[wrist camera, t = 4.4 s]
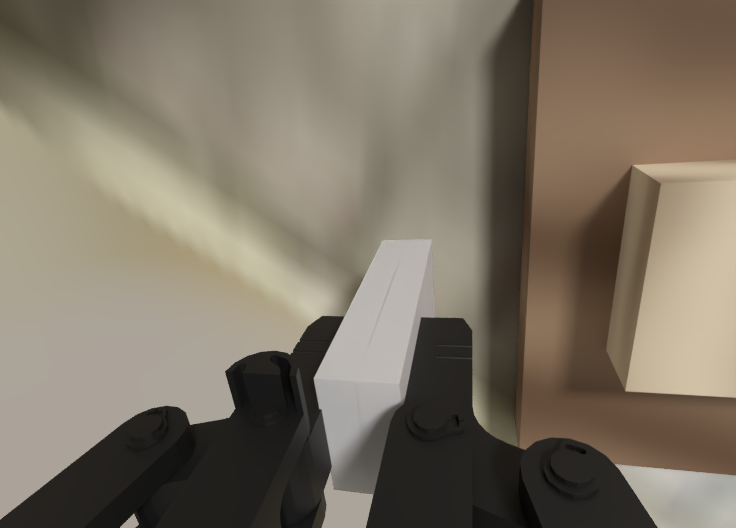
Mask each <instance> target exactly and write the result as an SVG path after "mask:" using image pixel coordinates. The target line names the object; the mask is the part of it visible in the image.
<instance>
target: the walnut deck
mask: <svg viewBox="0 0 736 528" xmlns="http://www.w3.org/2000/svg"><path fill="white" fill-rule="evenodd" d="M719 160H736V0H533V11H532V34H531V57H530V79H529V102H528V125H527V147H526V170H525V193H524V215H523V238H522V261H521V283H520V306H519V329H518V352H517V374H516V397H515V425H516V433H517V441H518V448H521V449H524V450H526V449H527V448H528V447H529V446H531V445H532V444H533V443H534V442H536V441H539V440H543V439H547V438H551V437H553V438H570V439H573V440H576V441H579V442H582V443H585V444H588V445H590V446H592V447H593V448H595V449H596V450H598V451H600V452H601V453H603V454H604V455H606V456H607V457H608V458H609V459H610V460H611V461H612V463H613V464H621V465H632V466H642V467H653V468H664V469H674V470H685V471H696V472H706V473H717V474H728V475H736V398H733V397H716V396H698V395H681V394H664V393H646V392H629V391H625V389H624V387H623V385H622V383H621V381H620V379H619V377H618V374H617V372H616V370H615V368H614V366H613V364H612V362H611V359H610V357H609V355H608V353H607V351H606V346H607V339H608V332H609V325H610V318H611V311H612V304H613V297H614V290H615V283H616V276H617V269H618V262H619V255H620V248H621V241H622V234H623V227H624V220H625V213H626V206H627V199H628V192H629V185H630V178H631V171H632V165H644V164H663V163H682V162H701V161H719Z"/></svg>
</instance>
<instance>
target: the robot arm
mask: <svg viewBox="0 0 736 528" xmlns="http://www.w3.org/2000/svg"><path fill="white" fill-rule="evenodd" d="M225 373H226V377H227V380H228V384H229V387H230V391H231V394H232V398H233V401H234V404H235V408H236V409H235V410H234V412H233V413H232V415H231V416H230V418H226V419H222V420H217V421H211V422H205V423H200V424H193V425H190V424H189V421H188V418H187V415H186V413H185V412H184V411H183V410H181V409H180V408H178V407H171V406H164V407H157V408H152V409H149V410H147V411H144V412H142V413H140V414H137V415H135V416H134V417H132V418H131V419H130V420H128V421H126V422H125V423H123V424H122V425H120V426H119V427H118V428H117V429H115V430H114V431H113V432H112V433H111V434H109V435H108V436H107V437H105V438H104V439H103V440H101V441H100V442H99V443H98V444H96V445H95V446H94V447H92V448H91V449H90V450H89V451H88V452H86V453H85V454H84V455H82V456H81V457H80V458H79V459H77V460H76V461H75V462H73V463H72V464H71V465H70V466H68V467H67V468H66V469H64V470H63V471H62V472H61V473H59V474H58V475H57V476H55V477H54V478H53V479H52V480H50V481H49V482H48V483H47V484H45V485H44V486H43V487H42V488H40V489H39V490H38V491H36V492H35V493H34V494H33V495H31V496H30V497H29V498H27V499H26V500H25V501H24V502H22V503H21V504H20V505H19V506H17V507H16V508H15V509H13V510H12V511H11V512H10V513H8V514H7V515H6V516H4V517H3V518H2V519H1V520H0V528H120V526H122V524H123V523H124V522H126V521H127V520H128V518H130V517H131V516H132V515H133V514H135V516H136V518H137V521H138V523H139V525H138V526H137V527H136V528H321V527H322V524H323V521H324V518H325V511H326V501H325V496H324V488H325V485H326V482H327V479H328V477H329V473H330V471H331V475H332V480H333V486H334V489H335V490H343V491H351V492H359V493H367V494H374V495H373V500H372V504H371V509H370V513H369V517H368V521H367V526H366V528H657V526H656V525H655V523H654V521H653V520H652V518H651V517H650V515H649V514H648V512H647V511H646V509H645V508H644V506H643V505H642V503H641V502H640V500H639V499H638V497H637V496H636V494H635V493H634V491H633V490H632V488H631V487H630V485H629V484H628V482H627V481H626V479H625V478H624V476H623V475H622V473H621V472H620V470H619V469H618V468H617V467H616V466H615V465H614V464H613V463H612V461H611V460H610V459H609V458H608V457H607V456H606V455H604V454H603V453H601V452H600V451H598V450H596V449H595V448H593V447H592V446H590V445H588V444H585V443H582V442H579V441H576V440H573V439H570V438H553V437H551V438H547V439H543V440H539V441H536V442H534V443H533V444H532V445H531V446H529V447H528V448H527V449H526V450H524V449H521V448H518V447H516V446H513V445H510V444H507V443H505V442H503V441H501V440H499V439H496V438H495V437H493V436H492V435H491V434H489V433H488V432H486V431H485V430H484V429H483V428H482V426H481V425H480V424H479V423H478V421H477V420H476V418H475V416H474V412H473V407H472V330H471V328H470V327H469V326H468V324H467V323H466V322H465V320H464V319H463V318H435V302H434V279H433V255H432V239H431V240H383V241H382V243H381V245H380V247H379V249H378V251H377V253H376V255H375V257H374V259H373V261H372V263H371V265H370V267H369V269H368V271H367V273H366V275H365V277H364V279H363V281H362V283H361V285H360V287H359V289H358V291H357V293H356V295H355V297H354V299H353V301H352V303H351V305H350V307H349V309H348V311H347V313H346V315H345V317H338V316H322V317H320V318H319V319H317V320H316V321H315V322H313V323H312V324H311V325H309V326H308V327H307V329H306V331H305V332H304V334H303V335H302V337H301V338H300V342H298V343H297V345H296V347H295V348H294V350H293V353H291V355H289V354H288V353H284V352H279V351H267V352H259V353H256V354H253V355H249V356H247V357H245V358H243V359H241V360H239V361H238V362H235V363H234V364H233V365H232V366H231V367H230V368H229V369H228V370H226V371H225Z"/></svg>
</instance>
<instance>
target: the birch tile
mask: <svg viewBox="0 0 736 528" xmlns="http://www.w3.org/2000/svg"><path fill="white" fill-rule="evenodd" d="M606 351H607V353H608V355H609V357H610V359H611V362H612V364H613V366H614V368H615V370H616V372H617V374H618V377H619V379H620V381H621V383H622V385H623V387H624V389H625V391H629V392H646V393H664V394H681V395H698V396H716V397H733V398H736V160H719V161H701V162H682V163H663V164H644V165H632V171H631V178H630V185H629V192H628V199H627V206H626V213H625V220H624V227H623V234H622V241H621V248H620V255H619V262H618V269H617V276H616V283H615V290H614V297H613V304H612V311H611V318H610V325H609V332H608V339H607V346H606Z"/></svg>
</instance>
